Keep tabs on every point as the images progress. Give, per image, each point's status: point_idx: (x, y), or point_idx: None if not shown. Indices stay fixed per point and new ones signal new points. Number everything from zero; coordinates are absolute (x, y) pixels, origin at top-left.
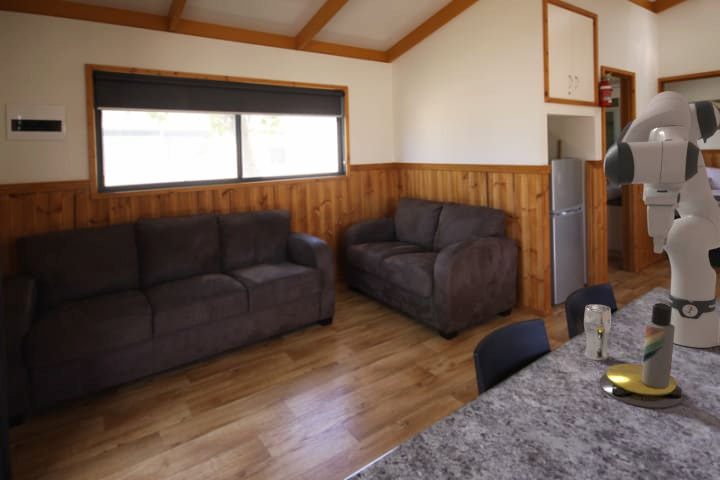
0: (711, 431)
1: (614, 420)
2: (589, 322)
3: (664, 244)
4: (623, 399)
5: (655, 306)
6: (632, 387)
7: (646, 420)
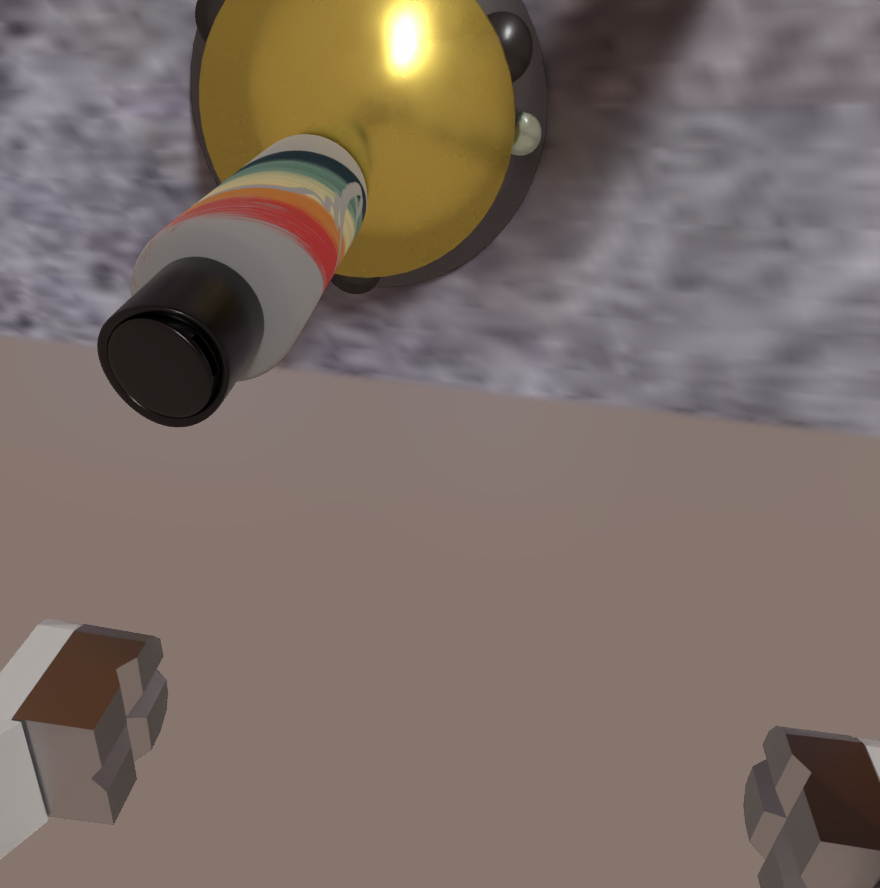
0: None
1: (16, 15)
2: None
3: (755, 807)
4: (199, 44)
5: (123, 322)
6: (215, 89)
7: (103, 145)
